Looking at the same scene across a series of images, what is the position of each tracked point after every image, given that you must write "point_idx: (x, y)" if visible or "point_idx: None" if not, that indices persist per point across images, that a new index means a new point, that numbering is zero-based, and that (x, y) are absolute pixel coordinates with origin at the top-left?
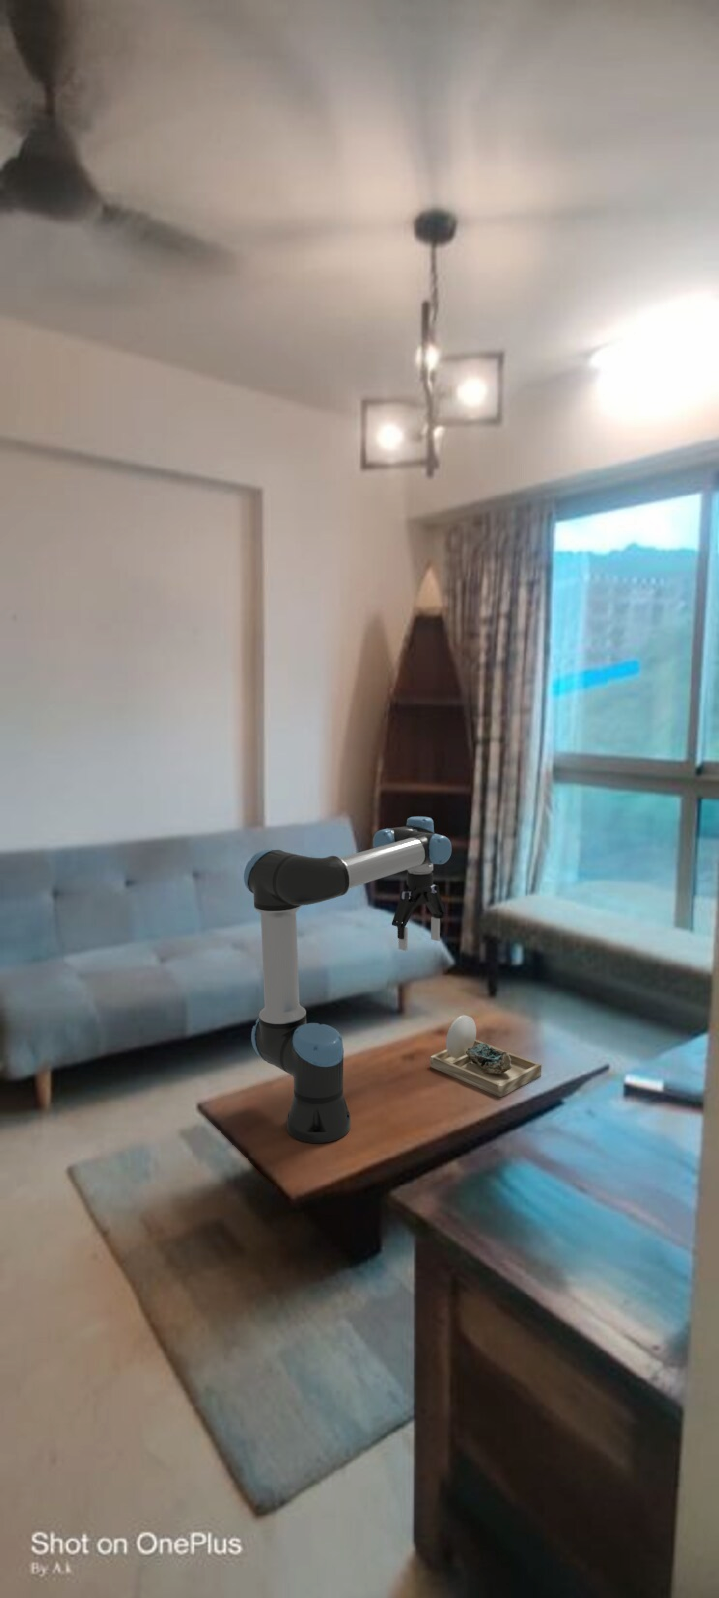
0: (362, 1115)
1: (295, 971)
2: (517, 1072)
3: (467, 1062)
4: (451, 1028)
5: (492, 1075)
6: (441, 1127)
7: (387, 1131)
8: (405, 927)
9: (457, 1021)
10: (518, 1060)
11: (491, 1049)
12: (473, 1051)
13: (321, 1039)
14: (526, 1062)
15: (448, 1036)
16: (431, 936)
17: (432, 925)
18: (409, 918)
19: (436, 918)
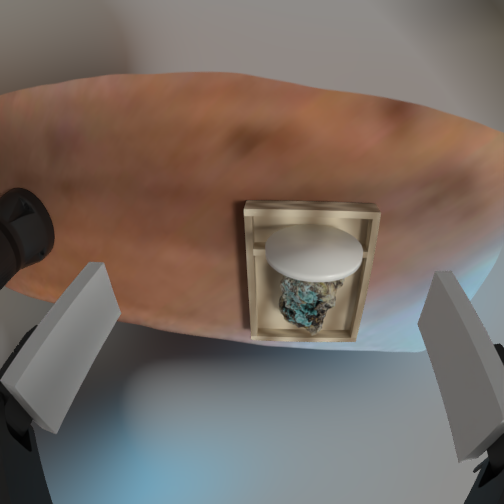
0: (71, 238)
1: None
2: (328, 316)
3: None
4: (275, 268)
5: None
6: (139, 315)
7: None
8: (43, 423)
9: (294, 278)
10: (355, 309)
11: (315, 307)
12: (287, 288)
13: None
14: (353, 322)
15: (267, 257)
16: (442, 288)
17: (472, 365)
18: (50, 499)
19: (480, 448)
